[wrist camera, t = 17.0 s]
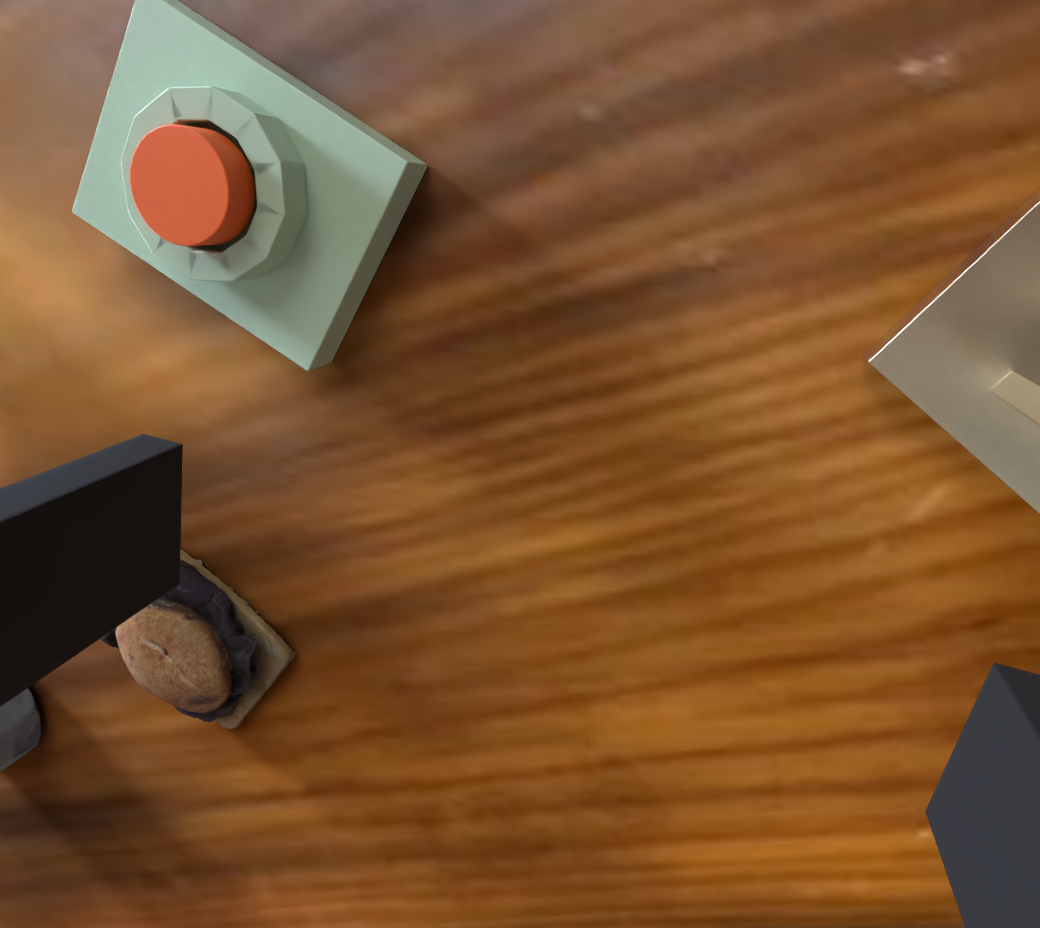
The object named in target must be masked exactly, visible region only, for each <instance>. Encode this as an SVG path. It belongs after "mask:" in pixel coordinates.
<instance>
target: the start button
mask: <svg viewBox="0 0 1040 928" xmlns="http://www.w3.org/2000/svg"><path fill="white" fill-rule="evenodd" d="M130 187H131V192H132V196H133V200H134V203H135V205H136V208H137V210H138V212H139V213H140V215H141V217H142V218H143V220H144V221H145V223H146V224H147V225H148V226H149V228H150V229H151V230H153V231H154V232H155V233H156V234H157V235H158V236H160V237H161V238H163V239H164V240H166V241H168V242H170V243H173V244H176V245H180V246H202V245H217V244H222V243H226V242H228V241H230V240H232V239H234V238H235V237H236V236H238V235H239V234H240V233H241V232H242V231H243V230H244V228H245V227H246V225H247V224H248V222H249V220H250V218H251V215H252V212H253V208H254V201H255V187H254V180H253V176H252V173H251V170H250V167H249V165H248V163H247V161H246V159H245V157H244V156H243V154H242V153H241V151H240V150H239V149H238V148H237V146H236V145H235V144H234V143H233V142H232V141H230V140H229V139H228V138H227V137H225V136H224V135H222V134H220V133H218V132H216V131H213V130H209V129H205V128H198V127H192V126H186V125H179V124H167V125H163V126H159V127H157V128H155V129H153V130H152V131H150V132H149V133H147V134H146V135H145V136H144V137H143V138H142V140H141V141H140V142H139V144H138V145H137V147H136V149H135V151H134V154H133V157H132V160H131V166H130Z"/></svg>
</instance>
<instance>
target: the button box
mask: <svg viewBox="0 0 1040 928" xmlns="http://www.w3.org/2000/svg"><path fill="white" fill-rule="evenodd" d="M167 124H179V125H186V126H192V127H198V128H205V129H209V130H213V131H216V132H218V133H220V134H222V135H224V136H225V137H227V138H228V139H229V140H230V141H232V142H233V143H234V144H235V145H236V146H237V148H238V149H239V150H240V151H241V153H242V154H243V156H244V157H245V159H246V161H247V163H248V165H249V167H250V170H251V173H252V176H253V180H254V187H255V201H254V208H253V212H252V215H251V218H250V220H249V222H248V224H247V225H246V227H245V228H244V230H243V231H242V232H241V233H240V234H239V235H238V236H236V237H235V238H234V239H232V240H230V241H228V242H226V243H222V244H217V245H202V246H180V245H176V244H173V243H170V242H168V241H166V240H164V239H163V238H161V237H160V236H158V235H157V234H156V233H155V232H154V231H153V230H151V229H150V228H149V226H148V225H147V224H146V223H145V221H144V220H143V218H142V217H141V215H140V213H139V212H138V210H137V208H136V205H135V203H134V200H133V196H132V192H131V187H130V166H131V160H132V157H133V154H134V151H135V149H136V147H137V145H138V144H139V142H140V141H141V140H142V138H143V137H144V136H145V135H146V134H147V133H149V132H150V131H152V130H153V129H155V128H157V127H159V126H163V125H167ZM427 166H428V165H427V164H426V163H424V162H423V161H421V160H420V159H418V158H417V157H415V156H414V155H412V154H411V153H409V152H408V151H406V150H405V149H403V148H401V147H400V146H398V145H397V144H395V143H394V142H392V141H391V140H389V139H388V138H386V137H385V136H383V135H382V134H380V133H379V132H377V131H376V130H374V129H373V128H371V127H370V126H368V125H366V124H365V123H363V122H362V121H360V120H359V119H357V118H356V117H354V116H353V115H351V114H350V113H348V112H347V111H345V110H344V109H342V108H341V107H339V106H338V105H336V104H334V103H333V102H331V101H330V100H328V99H327V98H325V97H324V96H322V95H321V94H319V93H318V92H316V91H315V90H313V89H312V88H310V87H309V86H307V85H306V84H304V83H303V82H301V81H299V80H298V79H296V78H295V77H293V76H292V75H290V74H289V73H287V72H286V71H284V70H283V69H281V68H280V67H278V66H277V65H275V64H274V63H272V62H271V61H269V60H268V59H266V58H264V57H263V56H261V55H260V54H258V53H257V52H255V51H254V50H252V49H251V48H249V47H248V46H246V45H245V44H243V43H242V42H240V41H239V40H237V39H236V38H234V37H232V36H231V35H229V34H228V33H226V32H225V31H223V30H222V29H220V28H219V27H217V26H216V25H214V24H213V23H211V22H210V21H208V20H207V19H205V18H204V17H202V16H201V15H199V14H197V13H196V12H194V11H193V10H191V9H190V8H188V7H187V6H185V5H184V4H182V3H181V2H179V1H178V0H135V4H134V7H133V10H132V14H131V17H130V20H129V24H128V27H127V30H126V34H125V37H124V40H123V44H122V47H121V50H120V54H119V57H118V60H117V64H116V67H115V70H114V73H113V77H112V80H111V83H110V87H109V90H108V93H107V97H106V100H105V103H104V107H103V110H102V113H101V117H100V120H99V123H98V127H97V130H96V133H95V137H94V140H93V143H92V146H91V150H90V153H89V156H88V160H87V163H86V166H85V170H84V173H83V176H82V180H81V183H80V186H79V190H78V193H77V196H76V200H75V203H74V206H73V209H72V212H73V213H75V214H76V215H77V216H79V217H80V218H82V219H83V220H85V221H86V222H88V223H89V224H91V225H92V226H94V227H95V228H97V229H98V230H100V231H101V232H103V233H104V234H106V235H107V236H109V237H110V238H111V239H113V240H114V241H116V242H117V243H119V244H120V245H122V246H123V247H125V248H126V249H128V250H129V251H131V252H132V253H134V254H135V255H137V256H138V257H140V258H141V259H143V260H144V261H146V262H147V263H148V264H150V265H151V266H153V267H154V268H156V269H157V270H159V271H160V272H162V273H163V274H165V275H166V276H168V277H169V278H171V279H172V280H174V281H175V282H177V283H178V284H180V285H181V286H182V287H184V288H185V289H187V290H188V291H190V292H191V293H193V294H194V295H196V296H197V297H199V298H200V299H202V300H203V301H205V302H206V303H208V304H209V305H211V306H212V307H214V308H215V309H216V310H218V311H219V312H221V313H222V314H224V315H225V316H227V317H228V318H230V319H231V320H233V321H234V322H236V323H237V324H239V325H240V326H242V327H243V328H245V329H246V330H248V331H249V332H251V333H252V334H253V335H255V336H256V337H258V338H259V339H261V340H262V341H264V342H265V343H267V344H268V345H270V346H271V347H273V348H274V349H276V350H277V351H279V352H280V353H282V354H283V355H285V356H286V357H287V358H289V359H290V360H292V361H293V362H295V363H296V364H298V365H299V366H301V367H302V368H304V369H305V370H307V371H310V370H313V369H316V368H318V367H321V366H324V365H326V364H329V363H331V362H332V360H333V358H334V356H335V354H336V352H337V350H338V348H339V346H340V344H341V342H342V340H343V338H344V336H345V334H346V332H347V330H348V328H349V326H350V324H351V322H352V319H353V317H354V315H355V313H356V311H357V309H358V307H359V305H360V303H361V301H362V299H363V297H364V295H365V293H366V291H367V289H368V287H369V285H370V283H371V281H372V279H373V277H374V275H375V273H376V270H377V268H378V266H379V264H380V262H381V260H382V258H383V256H384V254H385V252H386V250H387V248H388V246H389V244H390V242H391V240H392V238H393V236H394V234H395V232H396V230H397V228H398V226H399V224H400V221H401V219H402V217H403V215H404V213H405V211H406V209H407V207H408V205H409V203H410V201H411V199H412V197H413V195H414V193H415V191H416V189H417V187H418V185H419V183H420V181H421V179H422V177H423V175H424V172H425V170H426V168H427Z"/></svg>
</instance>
